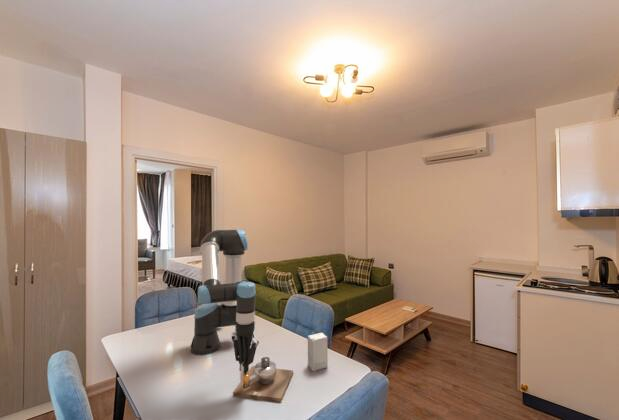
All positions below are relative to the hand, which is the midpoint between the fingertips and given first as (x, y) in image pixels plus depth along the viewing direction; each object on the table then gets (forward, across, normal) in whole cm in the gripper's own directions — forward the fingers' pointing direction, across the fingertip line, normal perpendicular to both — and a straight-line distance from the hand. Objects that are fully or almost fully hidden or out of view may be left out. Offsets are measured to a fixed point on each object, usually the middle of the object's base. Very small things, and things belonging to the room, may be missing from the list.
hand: (243, 379), depth 112 cm
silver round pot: (+2, -3, -6) cm, 7 cm away
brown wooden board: (+5, -4, -9) cm, 11 cm away
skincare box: (+5, -17, -33) cm, 37 cm away
